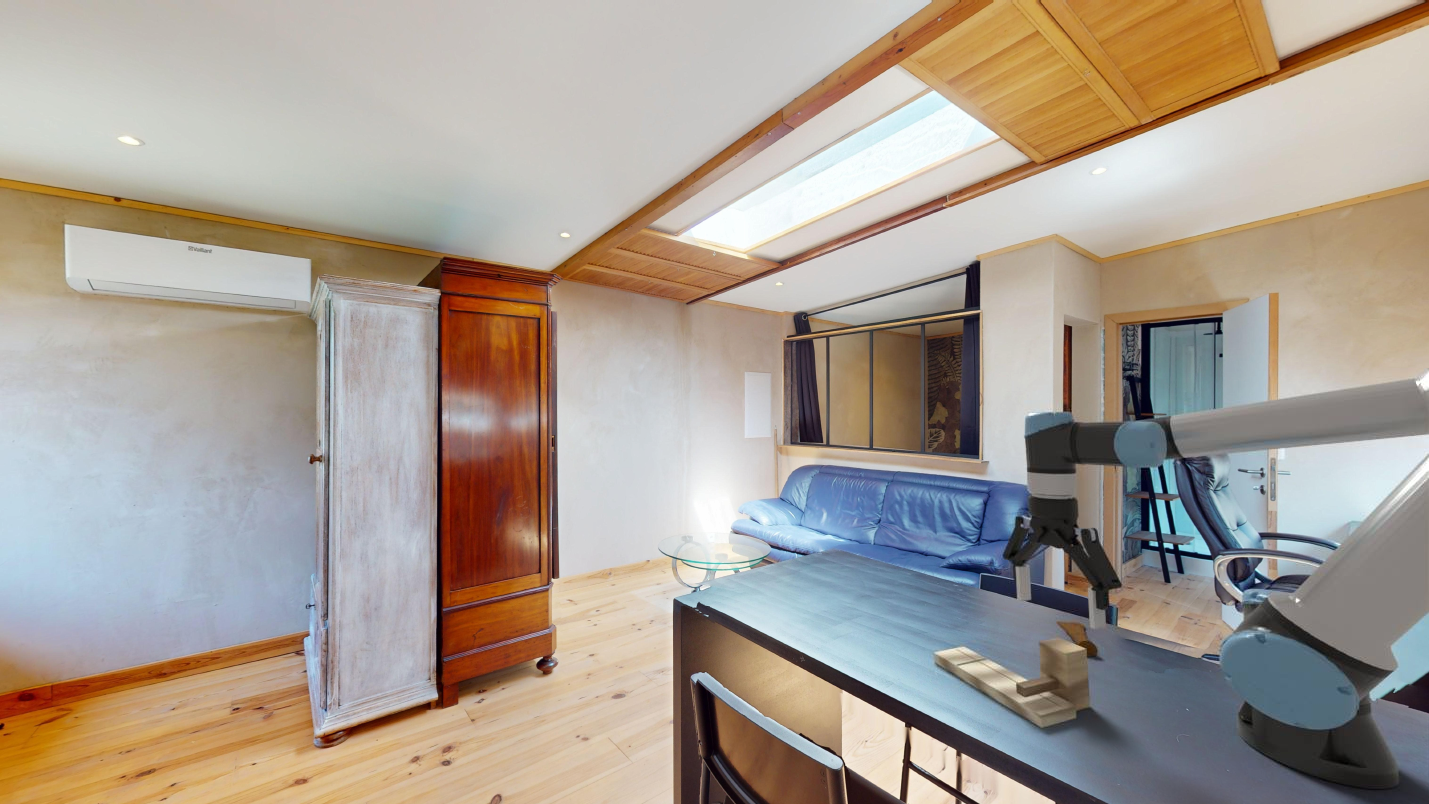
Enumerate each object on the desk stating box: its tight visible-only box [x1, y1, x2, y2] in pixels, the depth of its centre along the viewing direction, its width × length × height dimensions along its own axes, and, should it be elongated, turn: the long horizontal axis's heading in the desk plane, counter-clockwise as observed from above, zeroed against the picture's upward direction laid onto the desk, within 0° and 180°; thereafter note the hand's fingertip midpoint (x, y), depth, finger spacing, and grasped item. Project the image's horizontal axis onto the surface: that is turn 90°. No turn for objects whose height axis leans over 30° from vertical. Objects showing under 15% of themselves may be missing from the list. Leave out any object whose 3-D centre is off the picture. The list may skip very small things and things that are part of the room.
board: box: [933, 646, 1077, 729], centre depth 92 cm, size 24×8×2 cm, turn 18°
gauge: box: [1016, 637, 1091, 712], centre depth 86 cm, size 5×13×10 cm, turn 108°
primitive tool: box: [1056, 621, 1099, 658], centre depth 112 cm, size 19×6×4 cm, turn 156°
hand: (1058, 612), depth 88 cm, fingers open, 13 cm apart
